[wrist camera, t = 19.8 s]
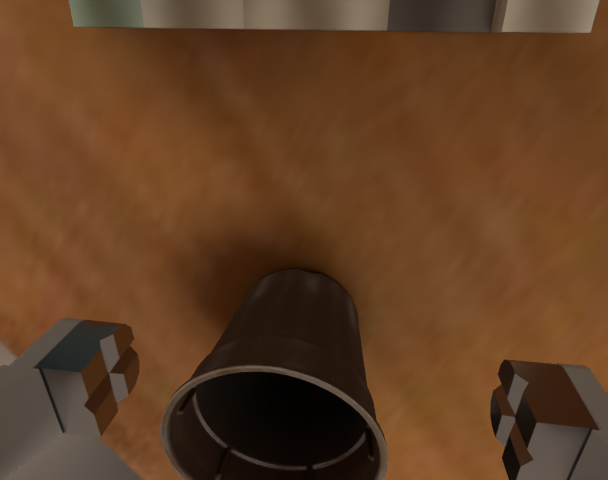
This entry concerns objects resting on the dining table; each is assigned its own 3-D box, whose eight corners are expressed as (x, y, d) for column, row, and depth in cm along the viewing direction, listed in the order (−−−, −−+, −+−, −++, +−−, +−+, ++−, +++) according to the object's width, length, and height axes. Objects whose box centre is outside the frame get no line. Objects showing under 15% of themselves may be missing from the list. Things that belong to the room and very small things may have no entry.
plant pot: (413, 328, 42) (438, 478, 28) (301, 398, 48) (274, 549, 34) (302, 217, 38) (266, 324, 24) (196, 308, 45) (117, 436, 30)
